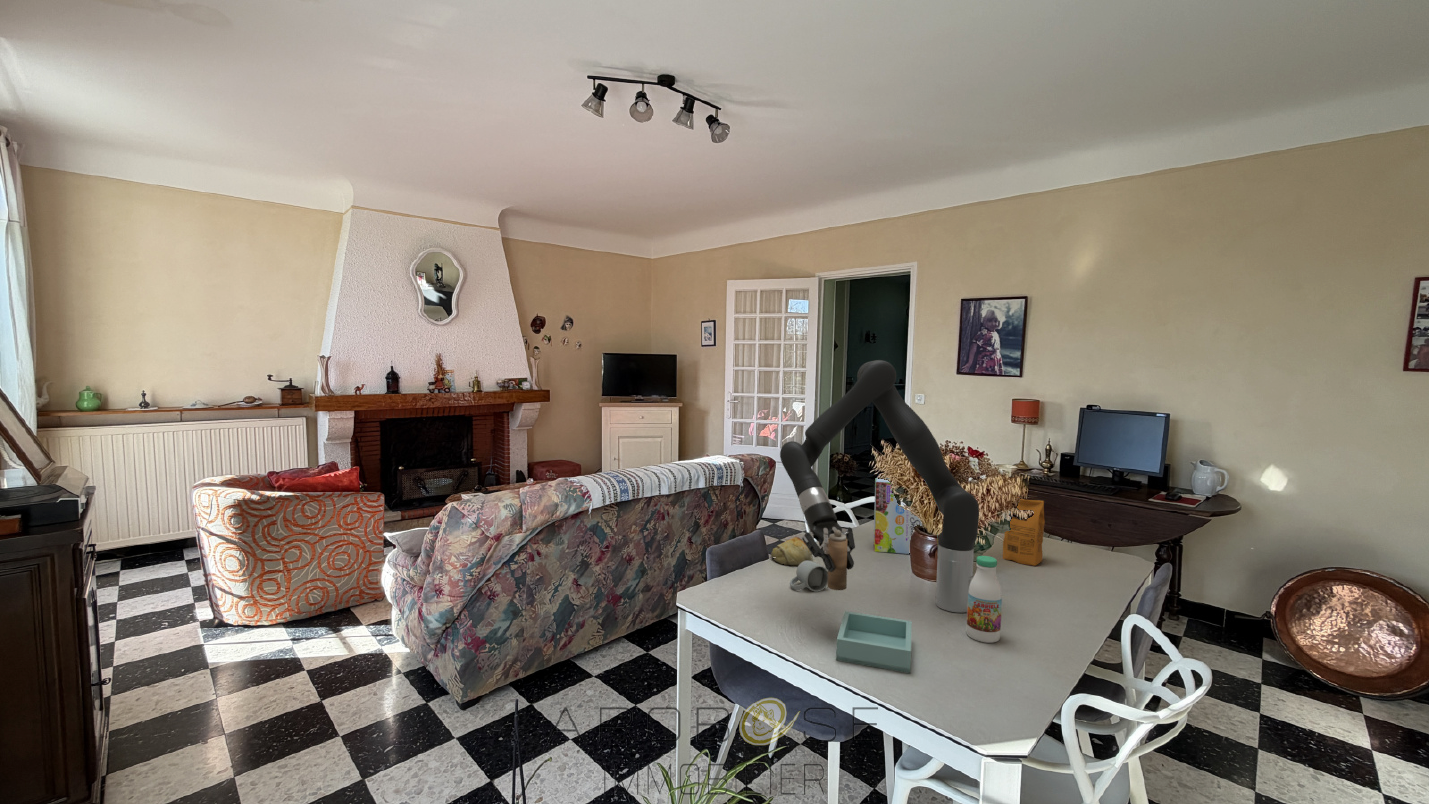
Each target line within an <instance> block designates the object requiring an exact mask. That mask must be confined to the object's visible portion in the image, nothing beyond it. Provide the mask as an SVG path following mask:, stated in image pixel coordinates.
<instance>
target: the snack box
mask: <svg viewBox="0 0 1429 804" xmlns="http://www.w3.org/2000/svg"><path fill="white" fill-rule="evenodd" d="M874 483H875V484H874V511H873V512H874V513H873V514H874V515H873V518H874V519H873V522H874V523H873V524H874V525H873V549H874V552H875V553H877V552H878V553H892V554H906V555H910V554H909V544H910V540H911V535H912V533H913V530H914V527H915V526H917V525H920V526H922V523H921V521H920V519H919V518H918V517H917V516H915V515H913V514H911V512H910V511H908V510H904V509H903V508H902V507H900V506H898V503H897V500H896V498H895V496H894V494H893V493H892V490H891V488H892V486H891V483H890V482H889V481H888V480H884V479H878V477H876V478H875V480H874Z"/></svg>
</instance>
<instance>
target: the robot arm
mask: <svg viewBox="0 0 1429 804" xmlns="http://www.w3.org/2000/svg"><path fill="white" fill-rule="evenodd" d="M856 378H857V381H856V382H855V383H854V385H853V386H851V389H849V390H848V391H847V392H846V393H845V394H844V395H843V396H842V397H841V398H839V399H838V400H837V401H836V402H835V403H834V404H832V405H830V406H829V407H828V408H827V409H826V410H825V411H823V412H822V413H821V414H820V415H819V416H818V417H817V418H816V419H815V420H814V421H813V422H812V423H811V424H810V425H809V426H808V427H807V428H806V429H805V432H804V434H805V435H804V437H805V439H804V441H803V442H802V444H801V443H799V442H797V441H793V440H791V441H788V442H786V443H784V444H783V445H782V446H781V448H780V452H779V458H780V461H781V464H782V466H783V468H784V470H785V472H786V473H787V475H788V476H789V479H790V481H791V483H792V485H793V488H794V490H795V494H796V495H797V499H798V502H799V505H800V509H801V511H802V514H803V516H804V518H805V521H806V523H807V526H808V528H809V530H810V532H809V531H807V532H805V534H804V535H803V536H802V537H801V539H802V540H803V541H804V543H805V544H806V546H807V547H808V549H809V550H810V551H811V553H812V557H814V558H821V559H822V561H823V564H824V567H825V568H826V569H827V571H828V570H829V572H833V571H834V570H835V566H834V563H833V561H832V558H831V556H830V555H828V553H829V551H828V538H829V537H830V534H834V532H835V531H836V530H840V531H841V533H842V534H843V535H846V539H847V571H848V570H852V569H853V567H854V565H855V561H854V560H853V559H854V558H853V557H852V554H851V553H852V552H853V550H854V549H855V548H856V545H855V544H856V543H855V538H854V533H853V531H854V530H853V528H852V527H847V528H843V527H842V526H841V525H840V524H839V523H838V518H837V515H836V513H835V511H834V508H833V507H832V503H831V501H830V500H829V497H828V495H827V493H826V491H825V490H824V488H823V485H822V482H821V480H820V479H819V476H818V475H817V474H816V472H815V471H814V470H813V469H812V467H813V466H814V464H815V463H816V462H817V460H818V459H819V457H820V456H821V454H822V452H823V451H824V449H825V447H826V446H827V445H829V444H830V443H831V441H833V440H834V439H835V437H837V436H838V434H840V432H842V431H843V429H844V428H846V426H847V425H848V424H849V423H851V421H852V420H853V419H855V417H856V416H857V415H858V414H860V413H861V412H862V411H863V410H864V409H866V407H867V406H869V405H870V404H871V403H872V404H873V405H874V406H875V407H876V409H877V410H878V412H879V414H880V415H881V416H882V418H883V419H884V423H885V424H886V427H888V429H889V431H890V433H891V435H892V436H893V438H894V440H895V441H896V443H897V445H898V447H899V449H901V451H902V453H903V454H904V455H905V457H906V459H907V460H908V461H909V463H910V464H911V466H912V467H913V468H914V470H916V472H917V473H918V474H919V476H920V477H921V478H922V480H924V481H925V482H926V484H927V486H928V488H929V490H930V492H931V494H932V496H933V498H934V500H935V502H936V504H937V506H938V511H939V512H940V513H941V514H942V515H943V516H942V530H941V532H940V533H939V534H938V537H937V560H936V561H937V565H936V587H935V605H936V606H937V607H938V608H940V609H942V610H944V611H947V612H951V613H952V612H953V613H960V614H961V613H967V605H968V591H969V586H970V583H971V581H972V579H973V577H974V576H973V573H974V558H975V557H974V555H975V542H976V540H977V538H978V532H979V518H980V506H979V501H978V500H977V498H976V497H975V496H974V495H973V494H972V493H970V492H968V491H967V490H966V489H964V488H963V486H961V484H960V483H959V482H958V481H957V479H956V478H955V476H954V475H953V474H952V473H951V471H950V469H949V468H948V466H947V463H946V462H945V459H944V456H943V453H942V450H941V447H940V446H939V444H938V442H937V440H936V438H935V437H934V434H933V433H932V432H931V430H930V429H929V426H928V425H927V424H926V423H925V421H924V420H923V419H922V418H921V417H920V416H919V415H918V414H917V413H916V412H915V410H914V409H912V407H910V406H909V404H907V402H906V401H905V400H904V399H903V398H902V396H901V395H900V393H899V392H898V391H899V390H897V388H896V386H895V383H896V380H897V372H896V369H895V367H894V366H893V365H892V364H891V363H890V362H888V361H886V360H881V359H878V360H877V359H876V360H871V361H867V362H865V363H863V364H862V365H861V366H859V369H858V371H857V375H856ZM815 540H816V541H817V542H816V541H815Z"/></svg>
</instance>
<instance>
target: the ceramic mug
mask: <svg viewBox="0 0 1429 804" xmlns="http://www.w3.org/2000/svg"><path fill="white" fill-rule="evenodd" d="M795 574H796V576H794V577H793V578H792V579H791V580H790V582H789V585H790V587H791V589H792V590H793V591H800V590H804V589H806V588H807V589H809V590H810V591H812V592H815V593H817V592H818V593H819V592H821V591H823V590H825V588H826V587H828V586H827V585H828V570H827V569H826V567H825V566H823V565H821V564H819V563H816V562H815V561H814V560H813V561H803V562H802V563H800V564H799V566H798V565H797V568H796V573H795ZM797 582H800V584H797V585H795V584H796V583H797Z"/></svg>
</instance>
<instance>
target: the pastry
mask: <svg viewBox="0 0 1429 804" xmlns="http://www.w3.org/2000/svg"><path fill="white" fill-rule="evenodd" d="M770 555H771V556H770V557H771V558H773V557H776V558H774V559H772V560H773V561H775V562H777V563H779V564H781V565H783V564H784V565H785V566H797V567H798V566H799V564H800V563H802V562H803V561H813V562H814V558H813V554H812V553H811V551H810V550H809V549H808V547H807V546H806V544H805V543H804V541H803V540H802V538H800V537H799V536H794V537H792V538H790V539H787V540H786V541H784V542H782V543H780V544H777V545H776V547H774V548H772V551H771V554H770ZM784 565H783V566H784Z"/></svg>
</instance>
